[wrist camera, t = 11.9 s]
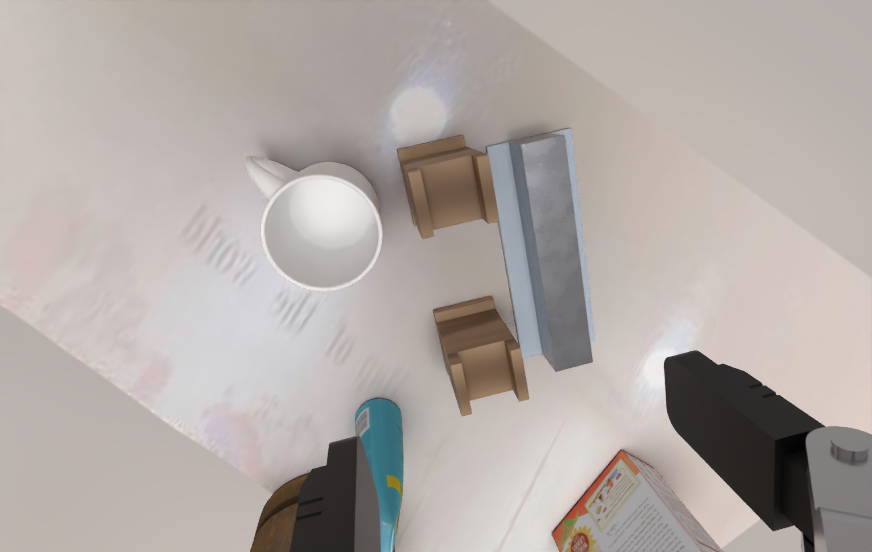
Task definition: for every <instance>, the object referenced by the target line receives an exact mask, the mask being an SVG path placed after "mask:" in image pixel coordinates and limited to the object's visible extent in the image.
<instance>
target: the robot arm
mask: <svg viewBox="0 0 872 552" xmlns="http://www.w3.org/2000/svg"><path fill="white" fill-rule="evenodd" d="M664 374H665V390H666V406H667V413H668V416H669V419H670V421H671V424H672V425H673V427H674V429H675V430H676V432H677V433H678V434H679V435H680V436H681V437H682V438H683V439H684V440H685V441H686V442H687V443H688V444H689V445H690V446H691V447H692V448H693V449H694V450H695V451H696V452H697V453H698V454H699V456H700V457H701V458H702V459H703V460H704V461H705V462H706V463H707V464H708V465H709V466H710V467H711V468H712V469H713V470H714V471H715V472H716V473H717V474H718V475H719V476H720V477H721V478H722V479H723V480H724V481H725V482H726V483H727V484H728V485H729V486H730V487H731V488H732V489H733V491H734V492H735V493H736V494H737V495H738V496H739V497H740V498H741V499H742V500H743V501H744V502H745V503H746V504H747V505H748V506H749V507H750V508H751V509H752V510H753V511H754V512H755V513H756V514H757V515H758V516H759V517H760V518H761V519H762V520H763V521H764V522H765V523H766V524H767V525H768V527H769V528H770V529H771V530H772V531H776V530H779V529H783V528H786V527H790V526H793V525H795V526H796V527H797V528H798V529H799V530H800V531H801V532H802V533H801V549H802V552H872V435H871V434H869V433H866V432H863V431H860V430H857V429H853V428H847V427H838V426H829V427H825V426H824V425H822V424H821V423H819V422H818V421H816V420H815V419H814V418H812V417H811V416H809V415H808V414H806V413H805V412H803V411H802V410H800V409H799V408H797V407H796V406H795V405H793V404H792V403H790V402H789V401H787V400H786V399H784V398H783V397H781V396H780V395H776V392H774V391H773V390H771V389H770V388H768V387H767V386H763V385H762V383H761V382H760V381H758V380H757V379H755V378H754V377H752V376H751V375H749V374H748V373H746V372H745V371H742V370H739V369H736V368H733V367H731V366H728V365H725V364H720V365H717V364H716V363H715V362H713V361H712V360H710V359H709V358H708V357H706V356H705V355H703V354H702V353H701V352H699V351H696V350H694V351H690V352H687V353H683V354H679V355H675V356H671V357H667V358H666V359H665V362H664ZM290 552H381V538H380V510H379V501H378V495H377V490H376V486H375V483H374V479H373V476H372V473H371V470H370V466H369V463H368V460H367V456H366V453H365V450H364V447H363V443H362V440H361V438H360V436H355V437H351V438H347V439H344V440H340V441H336V442H332V443H330V444H329V449H328V458H327V465H326V466H322V467H319V468H315V469H312V470H311V472H310V473H309V475H308V476H307V478H306V479H305V481H304V482H303V484H302V485H301V489H300V495H299V500H298V507H297V512H296V522H295V523H294V529H293V535H292V541H291V546H290Z"/></svg>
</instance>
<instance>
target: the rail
mask: <svg viewBox="0 0 872 552" xmlns="http://www.w3.org/2000/svg"><path fill="white" fill-rule="evenodd" d="M509 148H510V154H511V161H512V167H513V173H514V179H515V186H516V192H517V198H518V204H519V211H520V217H521V223H522V230H523V236H524V242H525V248H526V255H527V261H528V267H529V273H530V280H531V286H532V292H533V299H534V305H535V311H536V317H537V324H538V330H539V336H540V342H541V349H542V354H543V355H544V356H545V358H546V359H547V361H548V362H549V363H550V365H551V366H552V367H553V369H554V370H555V372H557V371H561V370H564V369H568V368H572V367H576V366H580V365H584V364H588V363H591V362H593V360H592V352H591V344H590V336H589V328H588V319H587V311H586V303H585V295H584V287H583V279H582V271H581V262H580V254H579V246H578V238H577V230H576V222H575V213H574V205H573V197H572V189H571V181H570V173H569V165H568V156H567V148H566V140H565V135H562V134H553V133H546V134H542V135H538V136H533V137H529V138H525V139H521V140H516V141H512V142H509Z"/></svg>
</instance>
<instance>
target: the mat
mask: <svg viewBox="0 0 872 552" xmlns="http://www.w3.org/2000/svg"><path fill="white" fill-rule="evenodd" d="M550 133H553V134H562V135H565V140H566V148H567V156H568V165H569V173H570V181H571V189H572V197H573V205H574V213H575V222H576V230H577V238H578V246H579V254H580V262H581V271H582V279H583V287H584V295H585V303H586V311H587V319H588V328H589V336H590V341H594V340H595V335H594V326H593V317H592V308H591V300H590V291H589V282H588V273H587V264H586V255H585V246H584V237H583V228H582V219H581V210H580V201H579V192H578V183H577V174H576V165H575V156H574V147H573V138H572V129H571V128H567V129H563V130H558V131H554V132H550ZM545 134H546V133H545ZM541 135H542V134H541ZM536 136H538V135H536ZM532 137H533V136H532ZM527 138H529V137H527ZM523 139H525V138H523ZM518 140H521V139H518ZM514 141H516V140H514ZM510 142H512V141H510ZM486 152H487V154H488V155H489V160H490V166H491V172H492V178H493V184H494V190H495V196H496V202H497V208H498V214H499V220H500V221H498V223H499V229H500V235H501V241H502V247H503V253H504V259H505V265H506V271H507V277H508V283H509V289H510V295H511V301H512V307H513V313H514V319H515V325H516V331H517V337H518V343H519V346H520V348H521V352H522V358H526V357H530V356H534V355H538V354H542V349H541V342H540V336H539V330H538V324H537V317H536V311H535V305H534V299H533V292H532V286H531V280H530V273H529V267H528V261H527V255H526V248H525V242H524V236H523V230H522V223H521V217H520V211H519V204H518V198H517V192H516V186H515V179H514V173H513V167H512V161H511V154H510V148H509V142H505V143H501V144H496V145H492V146H487V147H486Z"/></svg>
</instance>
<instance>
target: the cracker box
mask: <svg viewBox="0 0 872 552" xmlns="http://www.w3.org/2000/svg"><path fill="white" fill-rule="evenodd" d="M552 536H553V538H554V540H555V542H556V545H557V547H558V549H559V551H560V552H723V551H722V550H721V549H720V547H719V546H718V545H717V544H716V543H715V541H714V540H713V539H712V538H711V537H710V535H709V534H708V533H707V532H706V531H705V529H704V528H703V527H702V526H701V525H700V523H699V522H698V521H697V520H696V519H695V517H694V516H693V515H692V514H691V513H690V511H689V510H688V509H687V508H686V507H685V505H684V504H683V503H682V502H681V501H680V499H679V498H678V497H677V496H676V495H675V493H674V492H673V491H672V490H671V488H670V487H669V486H668V485H667V484H666V482H665V481H664V480H663V479H662V478H661V477H660V475H659V474H658V473H657V472H656V471H655V469H654V468H652V467H650V466H649V465H647V464H645V463H644V462H642V461H640V460H638V459H637V458H635V457H633V456H631V455H630V454H628V453H626V452H624V451H623V450H621V451H620V452H619V453H618V455H617V456H616V457H615V458H614V460H613V461H612V462H611V463H610V465H609V466H608V467H607V468H606V469H605V470H604V472H603V473H602V474H601V475H600V477H599V478H598V479H597V480H596V481H595V483H594V484H593V485H592V486H591V488H590V489H589V490H588V491H587V492H586V493H585V495H584V496H583V497H582V498H581V500H580V501H579V502H578V503H577V504H576V506H575V507H574V508H573V509H572V511H571V512H570V513H569V514H568V515H567V516H566V518H565V519H564V520H563V521H562V523H561V524H560V525H559V526H558V527H557V529H556V530H555V531H554V532H553V533H552Z"/></svg>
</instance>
